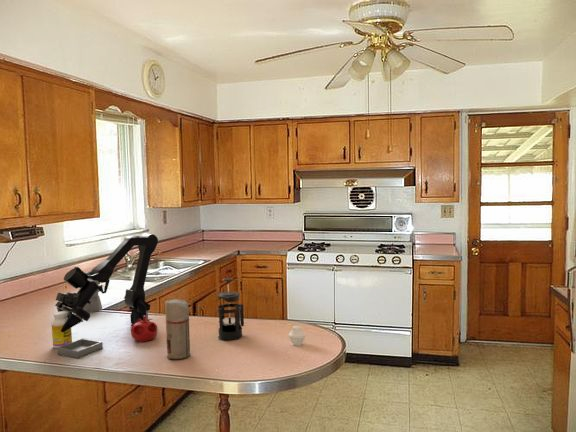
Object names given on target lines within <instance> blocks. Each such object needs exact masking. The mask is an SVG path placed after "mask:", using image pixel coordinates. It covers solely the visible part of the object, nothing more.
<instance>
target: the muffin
mask: <svg viewBox="0 0 576 432" xmlns="http://www.w3.org/2000/svg"><path fill="white" fill-rule="evenodd" d="M288 337H289V340H290V341H291V343H292V345H293V346H295V347H298V346H302V345H303V343H304V340H305V339H306V333H305V331H303V329H302V327H301V326H300V325H294V326H292V327H291V331H290V332H289V333H288Z"/></svg>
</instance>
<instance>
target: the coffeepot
mask: <svg viewBox="0 0 576 432" xmlns="http://www.w3.org/2000/svg"><path fill="white" fill-rule="evenodd" d="M87 280H89V281H90V282H92V281H93V280H91V279H87ZM94 282H95V283H97V284H98V285H101V283H100V282H97V281H94ZM109 285H110V279H109V280H108V281H107V282H104V288H103V292H101V294H106V293H107V291H108V287H109ZM99 292H100V291H98V290H97V292H96V293H95V294H94V296H93V297H92V298H91V300H90V302H91V303H90V304H87V305H86V306H85V307H84V310H85V311H87V312H88V313H93V312H94V313H95V312H99V311H100V310H102V309H103V305H102V301H101V297H100V295H99Z"/></svg>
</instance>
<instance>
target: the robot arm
mask: <svg viewBox="0 0 576 432" xmlns="http://www.w3.org/2000/svg"><path fill="white" fill-rule="evenodd" d="M158 243H159V238H158V237H157V235H155V234H151V233H142V234H140V235H134V236H127V235H126V237H124V238H123V240H122V241H121V243H120V244H119V245H118V246H117V247H116V248H115V250H113V251H112V252H111V253H110V255H109V256H108V257H107V258H106V259H105V260H104V261H102V262H100V263H99V264H97V265H96V266H94V267H93V268H92V269H91V270H90V271H87V272H84V271H83V270H82V269H81V268H80V267H79V266H74V268H72V269H70V270H69V271H67V272H66V273H65V274H64V277H63V281H64V282H66V283H67V284H68V285H70V286H72V288H74V289H76V290H77V289H78V291H76V292H69V291H68V292H67V293H64V292H60V291H58V293H57V294H56V296H55V297H56V298H55V301H57V302H56V303H55V304H54V306H55V307H56V310H57V312H60V311H66V312H67V314H68V315H67V318H68V319H67V321H66V322H65V324H64V326H63V327H62V329H61V332H65V331H66V330H68V329H70V328H71V329H72V328H73V327H75V326H76V325H78V324H80V323H84V321H86V322H88V321H89V320H90V318H91V313H90V312H87V311H85V310H84V307H85V306H86V305H87V304H90V303H91V302H90V300H91V298H92V297H93V296H94V294H95V293H96V292H97V290H98V291H99V292H101V293H102V292H103V291H104V288H103V286H104V285H103V283H104V284H105V283H106V282H107V281H108V280H110V278H111V277H112V275H113V273H114V271H115V269H116V267H117V266H118V264H119V263H121V261H122V260H123V259H124V257H126V255H127V254H128V253H129V252H130V251H131V250H132V248H134V247H137V248H138V253H139V254H138V259H137V264H136V269H135V271H134V277H133V279H132V280H133V281H132V286H131V287H130V288H129V289H128V288H127V289H125V295H124V297H123V299H124V303H125V305H126V306H127V307H128V308H129V310H131V313H130V316H129V317H130V324H131V325H130V327H132V326H133V325H134V324H135V323H137V322H138V321H140V319H141V320H142V321H143V319H144V317H143V316H146V321H147V320H148V319H149V311H150V310H151V304H150V303H148V302H147V301H146V293H145V283H146V279H147V275H148V269H149V265H150V261H151V256H152V255H153V253H154V252H155V250H156V249H157V246H158ZM87 279H91V280H93V281H92V282H90V281H89V280H87ZM94 281H97V282H100V285H98V284H97V283H95V282H94ZM101 283H102V284H101ZM136 321H137V322H136ZM149 321H150V320H149ZM134 322H135V323H134ZM150 322H151V321H150Z"/></svg>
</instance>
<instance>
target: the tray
mask: <svg viewBox="0 0 576 432" xmlns="http://www.w3.org/2000/svg"><path fill="white" fill-rule="evenodd" d="M103 346H104V343H103V341H99V340H93V339H89V338H80V339H77V340H75V341H72V342H71V343H69V344H66V345H63V346H61V347H58V348H56V349H57V355H58V356H63V357H67V358H72V359H76V360H78V359H81V358H84V357H86V356H89V355H90V354H93V353H96V352H98V351H100V350H103V349H104V347H103ZM88 354H89V355H88Z"/></svg>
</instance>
